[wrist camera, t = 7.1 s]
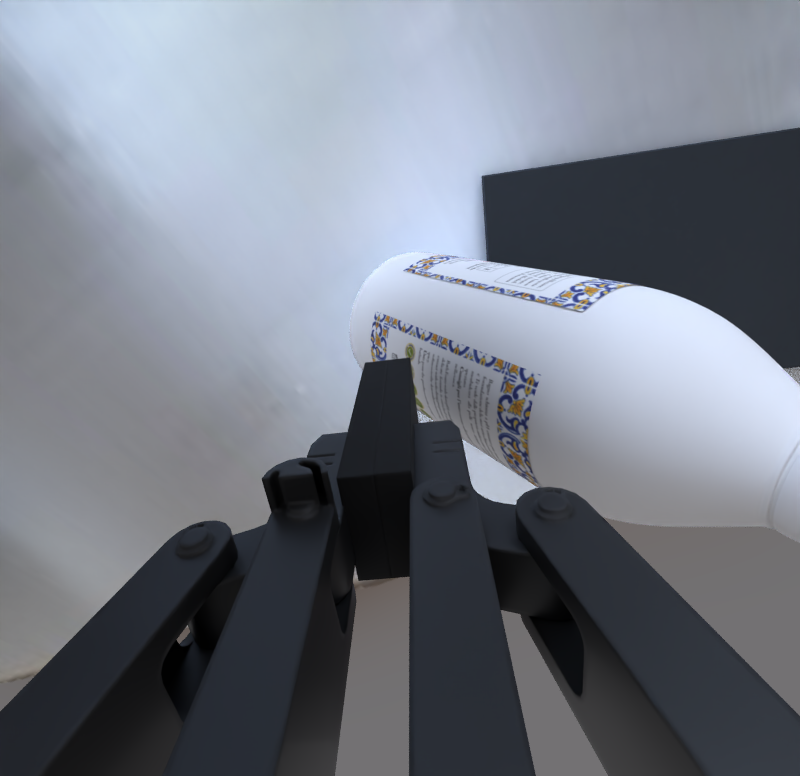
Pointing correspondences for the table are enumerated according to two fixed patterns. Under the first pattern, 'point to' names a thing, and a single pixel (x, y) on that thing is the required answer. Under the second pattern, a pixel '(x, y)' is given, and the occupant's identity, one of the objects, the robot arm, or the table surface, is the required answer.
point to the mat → (669, 227)
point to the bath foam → (594, 388)
